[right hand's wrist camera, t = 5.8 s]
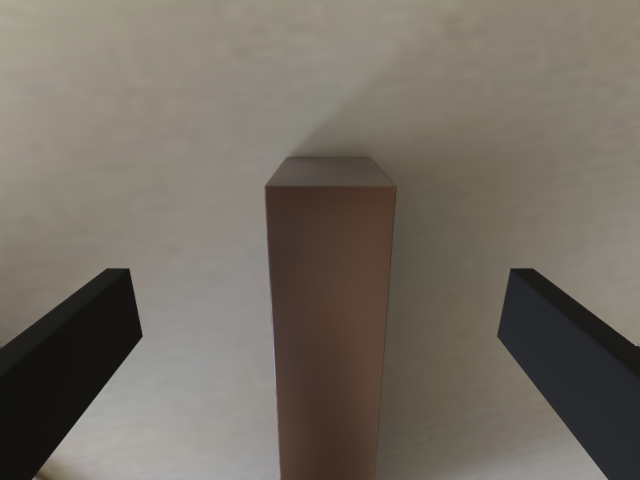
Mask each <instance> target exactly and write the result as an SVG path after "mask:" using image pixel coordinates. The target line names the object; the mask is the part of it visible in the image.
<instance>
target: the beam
mask: <svg viewBox="0 0 640 480" xmlns="http://www.w3.org/2000/svg"><path fill="white" fill-rule="evenodd" d="M395 199H396V186H395V185H394V183H393V182H392V181H391V180H390V179H389V178H388V177H387V175H386V174H385V173H384V172H383V171H382V170H381V168H380V167H379V166H378V165H377V164H376V163H375V161H374V160H373V159H372V158H317V157H287V158H286V159H285V160H284V161H283V163H282V164H281V165H280V167H279V168H278V169H277V171H276V172H275V173H274V175H273V176H272V177H271V179H270V180H269V181H268V183H267V184H266V185H265V203H266V221H267V240H268V259H269V277H270V296H271V314H272V333H273V351H274V370H275V388H276V407H277V426H278V444H279V463H280V480H375V467H376V453H377V440H378V427H379V413H380V400H381V386H382V373H383V360H384V346H385V333H386V320H387V306H388V293H389V280H390V266H391V253H392V239H393V226H394V213H395Z"/></svg>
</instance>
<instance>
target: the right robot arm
mask: <svg viewBox="0 0 640 480" xmlns="http://www.w3.org/2000/svg"><path fill="white" fill-rule="evenodd" d="M142 337H143V335H142V330H141V325H140V320H139V315H138V310H137V305H136V300H135V295H134V290H133V285H132V280H131V275H130V270H129V268H107V269H106V270H104V271H103V272H102V273H100V274H99V275H98V276H96V277H95V278H94V279H92V280H91V281H90V282H88V283H87V284H86V285H84V286H83V287H82V288H80V289H79V290H78V291H76V292H75V293H74V294H73V295H71V296H70V297H69V298H67V299H66V300H65V301H63V302H62V303H61V304H59V305H58V306H57V307H55V308H54V309H53V310H51V311H50V312H49V313H47V314H46V315H45V316H43V317H42V318H41V319H39V320H38V321H37V322H35V323H34V324H33V325H31V326H30V327H29V328H28V329H26V330H25V331H24V332H22V333H21V334H20V335H18V336H17V337H16V338H14V339H13V340H12V341H10V342H9V343H8V344H6V345H5V346H4V347H2V348H0V480H32V479H33V477H34V476H35V475H36V474H37V472H38V471H39V470H40V468H41V467H42V466H43V464H44V463H45V462H46V461H47V459H48V458H49V457H50V455H51V454H52V453H53V452H54V450H55V449H56V448H57V446H58V445H59V444H60V443H61V441H62V440H63V439H64V437H65V436H66V435H67V433H68V432H69V431H70V430H71V428H72V427H73V426H74V424H75V423H76V422H77V421H78V419H79V418H80V417H81V415H82V414H83V413H84V412H85V410H86V409H87V408H88V406H89V405H90V404H91V403H92V401H93V400H94V399H95V397H96V396H97V395H98V393H99V392H100V391H101V390H102V388H103V387H104V386H105V384H106V383H107V382H108V381H109V379H110V378H111V377H112V375H113V374H114V373H115V372H116V370H117V369H118V368H119V366H120V365H121V364H122V363H123V361H124V360H125V359H126V357H127V356H128V355H129V353H130V352H131V351H132V350H133V348H134V347H135V346H136V344H137V343H138V342H139V341H140V339H141V338H142ZM497 337H498V338H499V339H500V341H501V342H502V343H503V344H504V346H505V347H506V348H507V350H508V351H509V352H510V353H511V355H512V356H513V357H514V359H515V360H516V361H517V363H518V364H519V365H520V366H521V368H522V369H523V370H524V372H525V373H526V374H527V375H528V377H529V378H530V379H531V381H532V382H533V383H534V384H535V386H536V387H537V388H538V390H539V391H540V392H541V393H542V395H543V396H544V397H545V399H546V400H547V401H548V403H549V404H550V405H551V406H552V408H553V409H554V410H555V412H556V413H557V414H558V415H559V417H560V418H561V419H562V421H563V422H564V423H565V424H566V426H567V427H568V428H569V430H570V431H571V432H572V433H573V435H574V436H575V437H576V439H577V440H578V441H579V443H580V444H581V445H582V446H583V448H584V449H585V450H586V452H587V453H588V454H589V455H590V457H591V458H592V459H593V461H594V462H595V463H596V464H597V466H598V467H599V468H600V470H601V471H602V472H603V474H604V475H605V476H606V477H607V479H608V480H640V347H639V346H635V345H634V344H632V343H631V342H630V341H628V340H627V339H626V338H624V337H623V336H622V335H620V334H619V333H618V332H616V331H615V330H614V329H612V328H611V327H610V326H609V325H607V324H606V323H605V322H603V321H602V320H601V319H599V318H598V317H597V316H595V315H594V314H593V313H591V312H590V311H589V310H587V309H586V308H585V307H583V306H582V305H581V304H579V303H578V302H577V301H575V300H574V299H573V298H571V297H570V296H569V295H567V294H566V293H565V292H564V291H562V290H561V289H560V288H558V287H557V286H556V285H554V284H553V283H552V282H550V281H549V280H548V279H546V278H545V277H544V276H542V275H541V274H540V273H538V272H537V271H536V270H534V269H533V268H511V270H510V275H509V280H508V285H507V290H506V295H505V300H504V305H503V310H502V315H501V320H500V325H499V330H498V335H497Z"/></svg>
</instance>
